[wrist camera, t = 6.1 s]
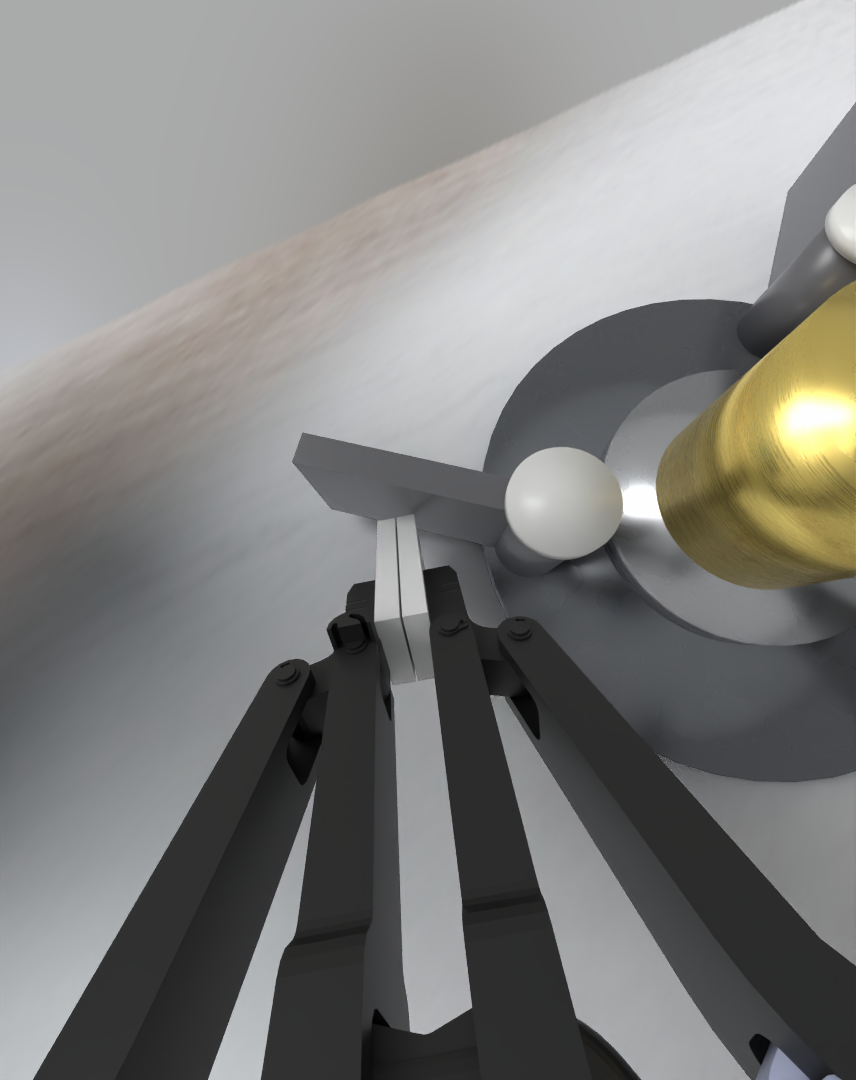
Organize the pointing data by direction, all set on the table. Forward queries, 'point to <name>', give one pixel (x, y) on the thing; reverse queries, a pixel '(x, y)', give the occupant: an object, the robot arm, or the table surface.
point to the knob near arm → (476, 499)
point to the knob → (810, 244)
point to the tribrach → (707, 532)
